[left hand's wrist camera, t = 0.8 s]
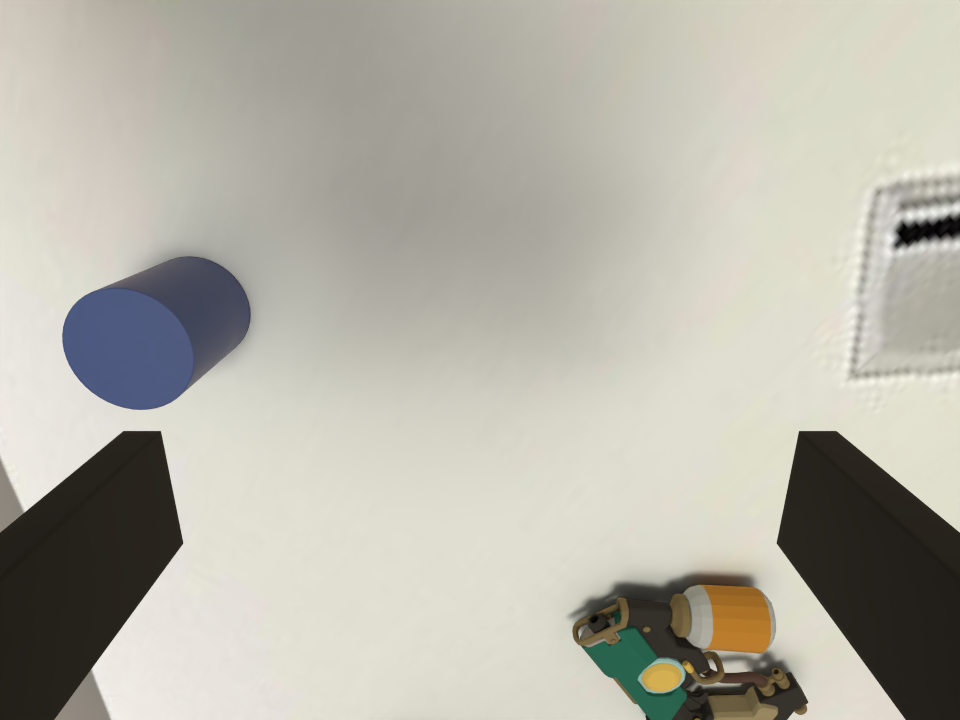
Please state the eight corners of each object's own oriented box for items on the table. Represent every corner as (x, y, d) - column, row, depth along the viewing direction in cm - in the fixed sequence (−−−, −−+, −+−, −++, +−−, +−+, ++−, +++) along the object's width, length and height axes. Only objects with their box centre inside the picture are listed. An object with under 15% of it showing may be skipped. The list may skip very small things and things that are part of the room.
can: (123, 288, 37) (33, 327, 29) (207, 237, 36) (136, 263, 28) (189, 374, 39) (121, 430, 31) (271, 327, 37) (220, 374, 30)
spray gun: (796, 700, 49) (613, 735, 51) (772, 544, 42) (562, 592, 44) (823, 754, 45) (623, 789, 47) (800, 591, 38) (569, 640, 41)
